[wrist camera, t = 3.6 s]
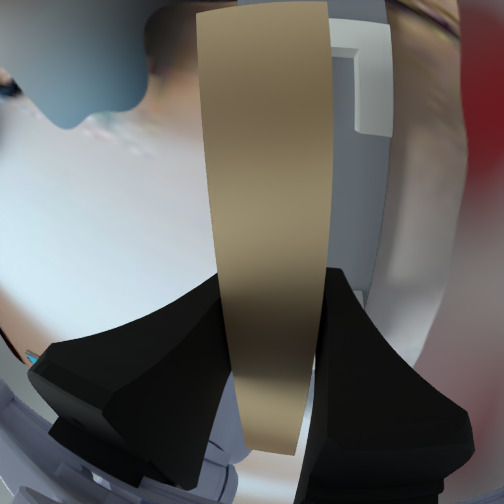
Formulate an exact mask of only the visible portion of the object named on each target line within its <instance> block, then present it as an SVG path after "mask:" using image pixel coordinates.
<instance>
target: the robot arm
mask: <svg viewBox="0 0 504 504" xmlns="http://www.w3.org/2000/svg"><path fill="white" fill-rule="evenodd" d="M27 374H28V378H29V381H30V382H31V384H32V386H33V387H34V388H35V389H36V390H37V392H38V393H39V394H40V396H41V397H42V398H43V399H44V400H45V401H46V402H47V404H48V405H49V406H50V407H51V408H52V409H53V410H54V411H55V412H56V414H57V415H58V416H59V417H58V419H57V420H56V421H55V423H54V424H51V423H50V422H49V421H47V420H46V419H44V418H43V417H42V416H40V415H39V414H38V413H37V412H35V411H34V410H33V409H31V408H30V407H29V406H28V405H26V404H25V403H24V402H23V401H22V400H20V399H19V398H18V397H17V396H16V395H15V394H14V392H13V391H12V390H11V389H10V387H9V386H8V385H7V384H6V383H5V382H4V381H3V379H1V377H0V478H1V479H2V481H3V483H4V484H5V485H6V487H7V488H8V490H9V491H10V493H11V494H12V495H13V499H12V500H11V502H10V504H232V502H233V500H234V497H235V494H236V491H237V486H238V475H237V472H236V470H235V467H234V466H233V464H236V463H238V462H240V461H242V460H243V459H244V458H246V457H247V456H248V454H249V453H250V452H251V451H252V449H248V448H246V446H245V441H244V436H243V431H242V425H241V420H240V415H239V409H238V403H237V398H236V392H235V386H234V380H233V374H232V368H231V362H230V355H229V349H228V343H227V336H226V329H225V323H224V316H223V309H222V302H221V294H220V287H219V279H218V272H217V273H216V274H215V275H213V276H212V277H210V278H209V279H208V280H206V281H205V282H203V283H202V284H200V285H199V286H197V287H196V288H194V289H193V290H191V291H190V292H188V293H186V294H185V295H183V296H182V297H180V298H178V299H177V300H175V301H174V302H172V303H170V304H168V305H166V306H165V307H163V308H161V309H159V310H157V311H155V312H153V313H151V314H149V315H146V316H144V317H142V318H139V319H137V320H134V321H132V322H129V323H127V324H125V325H122V326H119V327H117V328H114V329H111V330H108V331H104V332H101V333H98V334H94V335H91V336H87V337H83V338H78V339H73V340H68V341H62V342H57V343H52V344H51V345H50V346H49V347H48V348H47V349H46V350H45V351H44V353H43V354H42V355H41V356H40V357H39V358H38V360H37V361H36V362H35V363H34V364H33V366H32V367H31V368H30V369H29V370H28V372H27ZM474 452H475V447H474V440H473V433H472V427H471V423H470V420H469V416H468V413H467V411H465V410H464V409H463V408H461V407H460V406H458V405H457V404H455V403H454V402H453V401H451V400H450V399H449V398H447V397H446V396H444V395H443V394H441V393H440V392H439V391H437V390H436V389H435V388H434V387H433V386H432V385H430V384H429V383H428V382H427V381H426V380H424V379H423V378H422V377H421V376H420V375H419V374H418V373H417V372H415V371H414V370H413V369H412V368H411V367H410V366H409V365H408V364H407V363H406V362H405V361H404V360H403V359H402V358H401V357H400V356H399V355H398V354H397V353H396V351H395V350H394V349H393V348H392V347H391V346H390V345H389V343H388V342H387V341H386V340H385V338H384V337H383V336H382V335H381V333H380V332H379V331H378V329H377V328H376V327H375V325H374V324H373V322H372V321H371V319H370V318H369V317H368V315H367V314H366V312H365V310H364V309H363V307H362V306H361V304H360V302H359V301H358V299H357V297H356V296H355V294H354V292H353V290H352V288H351V286H350V285H349V283H348V281H347V278H346V276H345V274H344V272H343V270H342V269H341V268H331V267H326V274H325V284H324V292H323V301H322V309H321V316H320V324H319V331H318V338H317V344H316V351H315V384H314V401H313V408H312V415H311V421H310V427H309V433H308V439H307V444H306V449H305V455H304V460H303V464H302V469H301V474H300V478H299V483H298V487H297V491H296V495H295V499H294V503H293V504H438V494H440V493H442V492H443V490H444V478H446V477H447V476H448V475H450V474H451V473H453V472H454V471H456V470H457V469H459V468H460V467H461V466H463V465H464V464H465V463H466V462H467V461H469V459H470V458H471V456H472V455H473V453H474ZM90 471H91V472H90ZM92 472H93V473H94V474H96V475H98V478H97V480H96V482H95V481H94V480H93V475H92ZM453 504H504V487H502V488H499V489H497V490H494V491H492V492H489V493H486V494H483V495H480V496H477V497H474V498H471V499H467V500H464V501H460V502H457V503H453Z"/></svg>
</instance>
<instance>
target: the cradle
mask: <svg viewBox="0 0 504 504" xmlns="http://www.w3.org/2000/svg"><path fill="white" fill-rule="evenodd" d="M292 1H323V2H327V7H328V17H329V28H330V41H331V56H332V77H333V175H332V198H331V215H330V229H329V242H328V254H327V264H326V267H331V268H341V269H342V270H343V272H344V274H345V276H346V278H347V281H348V283H349V285H350V286H351V288H352V290H353V292H354V294H355V296H356V297H357V299H358V301H359V302H360V304H361V306H362V307H363V309H364V310H365V306H366V302H367V298H368V294H369V289H370V285H371V280H372V275H373V270H374V265H375V260H376V255H377V249H378V244H379V238H380V232H381V225H382V218H383V211H384V204H385V196H386V187H387V177H388V166H389V153H390V137H392V135H393V61H392V45H391V33H390V25H388V23H387V15H386V7H385V1H384V0H238V6H242V5H251V4H260V3H272V2H292ZM312 370H315V357H314V363H313V369H312Z"/></svg>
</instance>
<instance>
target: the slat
mask: <svg viewBox="0 0 504 504" xmlns="http://www.w3.org/2000/svg"><path fill="white" fill-rule="evenodd" d="M196 21H197V47H198V67H199V85H200V100H201V114H202V127H203V140H204V151H205V163H206V173H207V184H208V194H209V203H210V213H211V222H212V231H213V239H214V248H215V256H216V264H217V272H218V279H219V287H220V294H221V302H222V309H223V316H224V323H225V329H226V336H227V343H228V349H229V355H230V362H231V368H232V374H233V380H234V386H235V392H236V398H237V403H238V409H239V415H240V420H241V425H242V431H243V436H244V441H245V446H246V448H248V449H253V450H258V451H264V452H271V453H277V454H285V455H293V456H295V451H296V447H297V443H298V439H299V434H300V430H301V425H302V421H303V416H304V411H305V406H306V401H307V396H308V391H309V386H310V380H311V375H312V369H313V363H314V357H315V351H316V344H317V338H318V331H319V324H320V316H321V309H322V301H323V292H324V284H325V274H326V264H327V254H328V242H329V229H330V215H331V198H332V175H333V77H332V56H331V41H330V28H329V17H328V7H327V2H323V1H292V2H272V3H260V4H251V5H242V6H235V7H228V8H222V9H217V10H211V11H206V12H201V13H197V14H196Z"/></svg>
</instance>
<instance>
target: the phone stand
mask: <svg viewBox="0 0 504 504" xmlns="http://www.w3.org/2000/svg"><path fill="white" fill-rule="evenodd" d="M25 351H26V350H25ZM25 353H26V354H27V355H28V357H29V358H30V359H29V358H28V357H27V358H28V359H29V361H30V360H31V361H30V362H32V363H33V364H34V363H35V362H36V361H37V360H38V358H39V357H40V356H38V355H36V354H35V353H32V352H31V351H29V350H27V351H26V352H25Z"/></svg>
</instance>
